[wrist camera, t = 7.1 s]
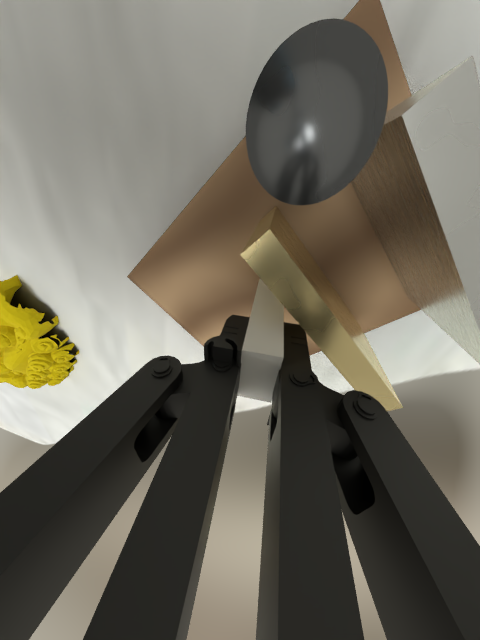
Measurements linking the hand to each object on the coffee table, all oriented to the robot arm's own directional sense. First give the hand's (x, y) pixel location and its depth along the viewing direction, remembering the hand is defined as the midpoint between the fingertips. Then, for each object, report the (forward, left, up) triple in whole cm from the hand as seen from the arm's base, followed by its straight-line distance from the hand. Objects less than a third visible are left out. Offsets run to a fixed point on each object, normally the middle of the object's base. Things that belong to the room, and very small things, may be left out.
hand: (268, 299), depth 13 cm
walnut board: (0, +1, -3) cm, 3 cm away
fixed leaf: (0, +6, -2) cm, 6 cm away
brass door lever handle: (0, +4, -2) cm, 5 cm away
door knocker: (-14, -30, -4) cm, 33 cm away
